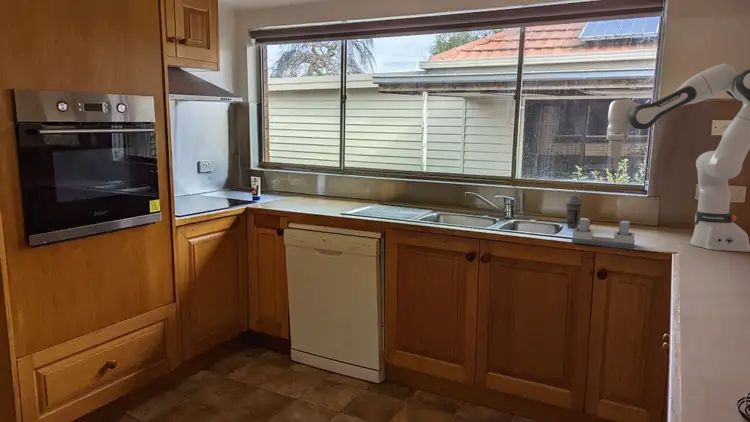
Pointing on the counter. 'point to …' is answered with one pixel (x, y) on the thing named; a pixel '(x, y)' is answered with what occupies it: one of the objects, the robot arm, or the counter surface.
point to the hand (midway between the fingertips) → (615, 167)
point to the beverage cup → (573, 210)
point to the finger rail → (603, 239)
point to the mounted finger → (624, 227)
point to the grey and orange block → (584, 225)
